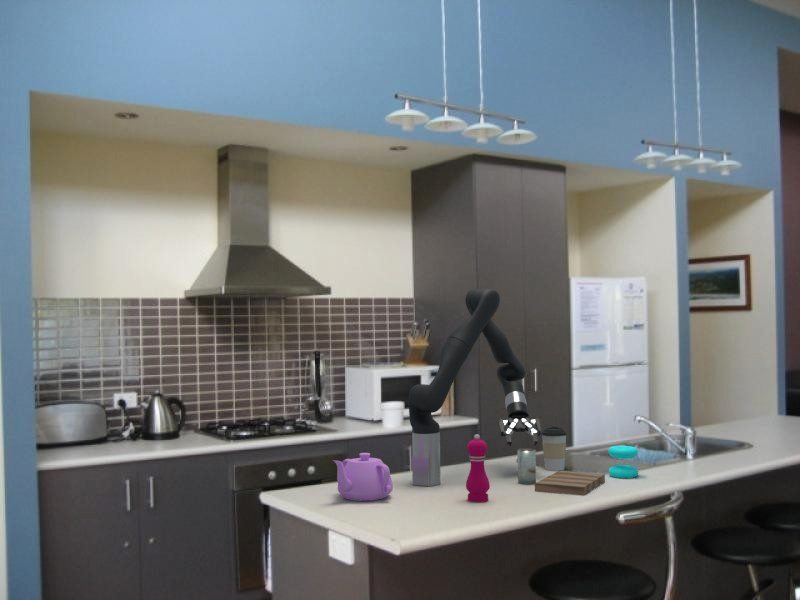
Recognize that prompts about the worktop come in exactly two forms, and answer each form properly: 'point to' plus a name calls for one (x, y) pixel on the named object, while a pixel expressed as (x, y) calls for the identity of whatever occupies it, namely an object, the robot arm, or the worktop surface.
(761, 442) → the worktop surface
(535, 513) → the worktop surface
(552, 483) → the board
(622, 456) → the pair of cyan discs
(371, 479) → the teapot
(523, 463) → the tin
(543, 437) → the coffee cup
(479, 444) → the pepper mill
